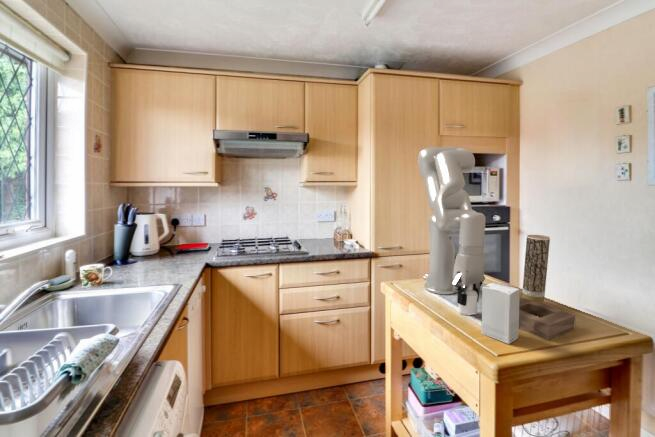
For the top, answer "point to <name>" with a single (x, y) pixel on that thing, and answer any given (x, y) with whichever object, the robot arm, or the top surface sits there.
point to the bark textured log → (535, 268)
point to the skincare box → (500, 312)
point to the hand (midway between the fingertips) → (467, 302)
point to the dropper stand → (544, 319)
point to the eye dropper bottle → (469, 302)
